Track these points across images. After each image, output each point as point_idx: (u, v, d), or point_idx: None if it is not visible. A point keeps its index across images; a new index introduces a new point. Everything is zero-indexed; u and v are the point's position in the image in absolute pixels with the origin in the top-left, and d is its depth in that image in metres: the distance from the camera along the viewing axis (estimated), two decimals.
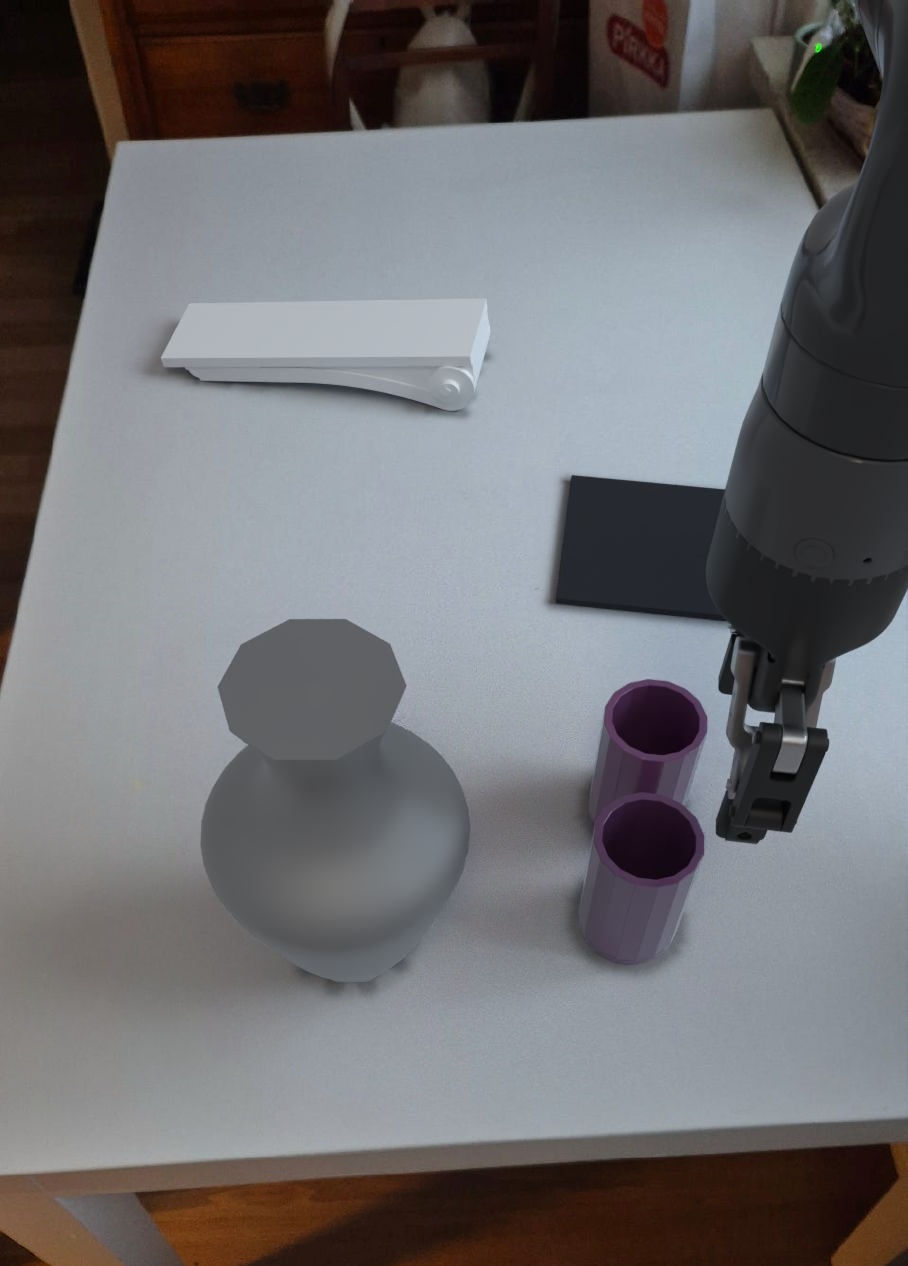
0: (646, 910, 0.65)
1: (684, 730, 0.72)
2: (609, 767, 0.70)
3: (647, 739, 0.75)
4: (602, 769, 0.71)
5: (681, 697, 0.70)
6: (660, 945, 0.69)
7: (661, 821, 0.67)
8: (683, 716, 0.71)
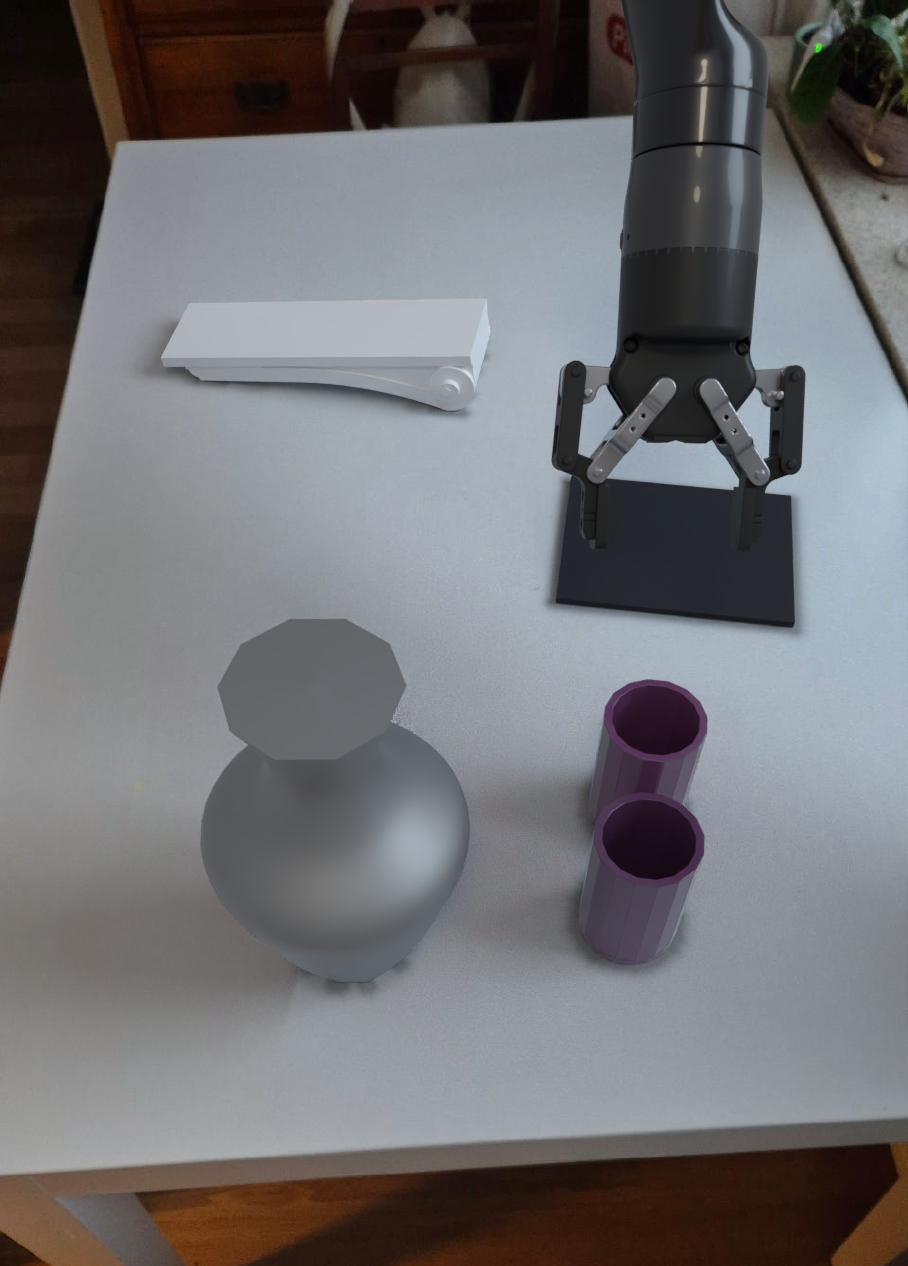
0: (646, 910, 0.65)
1: (684, 730, 0.72)
2: (609, 767, 0.70)
3: (647, 739, 0.75)
4: (602, 769, 0.71)
5: (681, 697, 0.70)
6: (660, 945, 0.69)
7: (661, 821, 0.67)
8: (683, 716, 0.71)
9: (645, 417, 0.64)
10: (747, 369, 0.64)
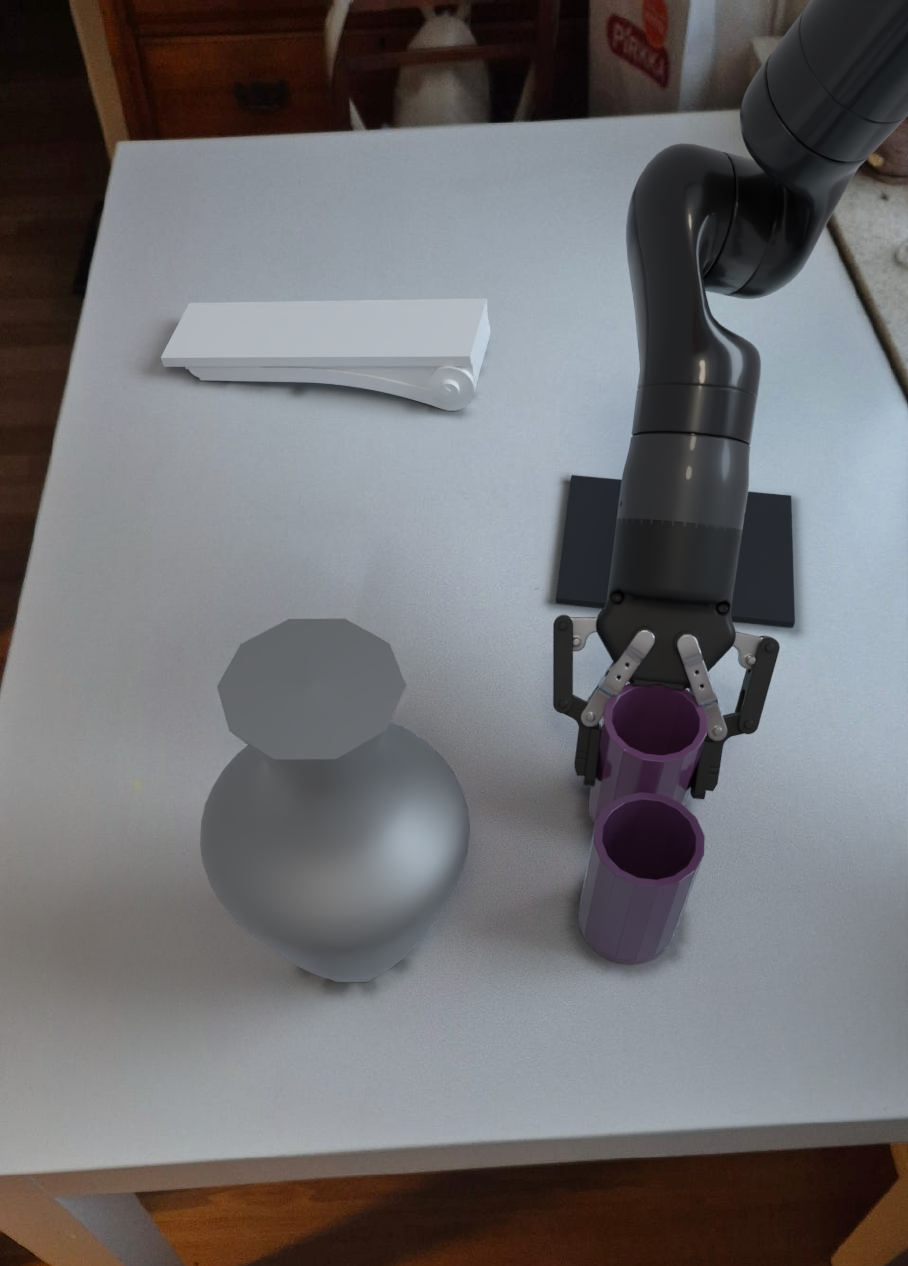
0: (646, 910, 0.65)
1: (684, 730, 0.72)
2: (609, 767, 0.70)
3: (647, 739, 0.75)
4: (602, 769, 0.71)
5: (681, 697, 0.70)
6: (660, 945, 0.69)
7: (661, 821, 0.67)
8: (683, 716, 0.71)
9: (629, 666, 0.69)
10: (727, 629, 0.68)
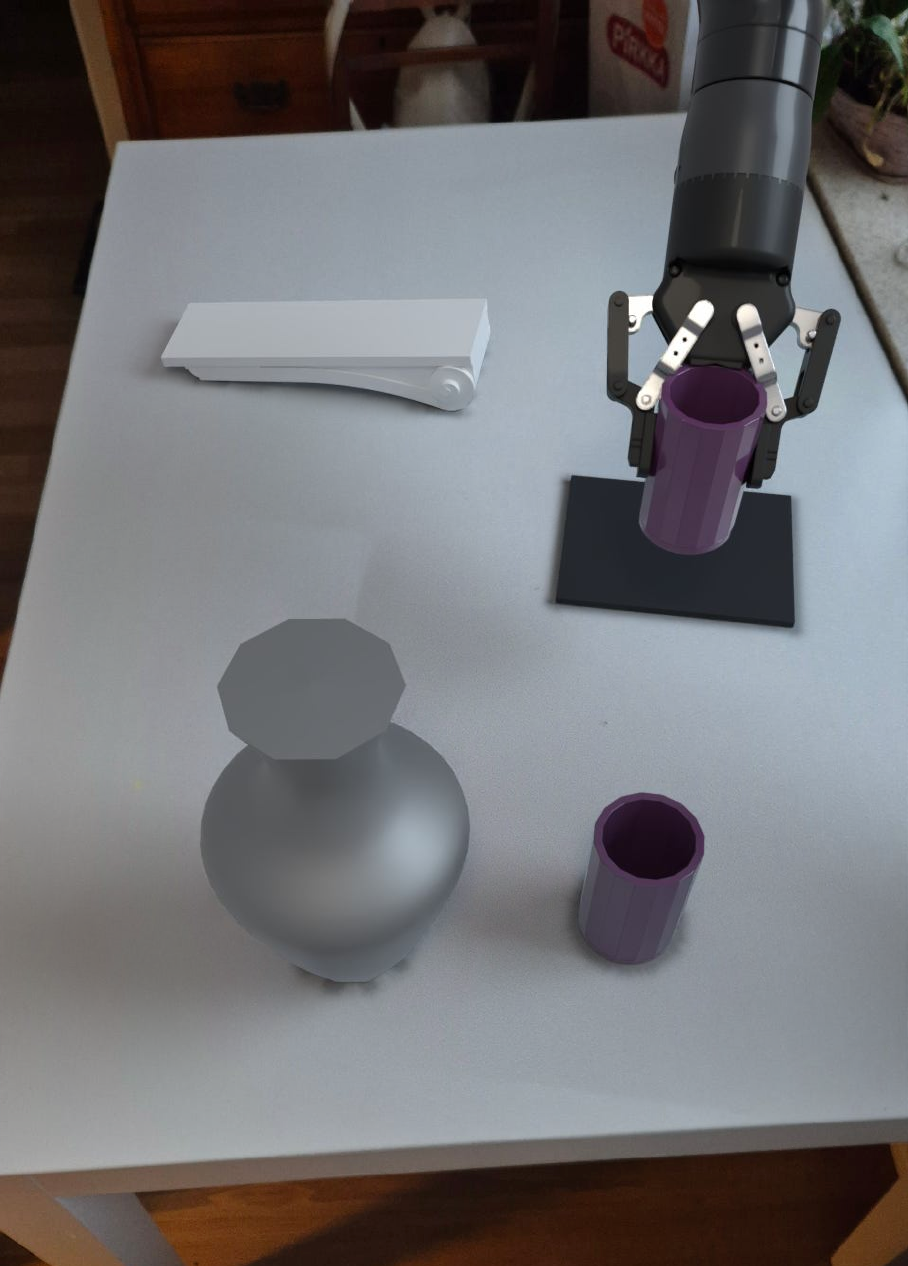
0: (646, 910, 0.65)
1: (740, 419, 0.70)
2: (665, 449, 0.68)
3: None
4: (657, 456, 0.70)
5: (739, 378, 0.68)
6: (660, 945, 0.69)
7: (661, 821, 0.67)
8: (740, 401, 0.69)
9: (687, 341, 0.67)
10: (787, 301, 0.67)
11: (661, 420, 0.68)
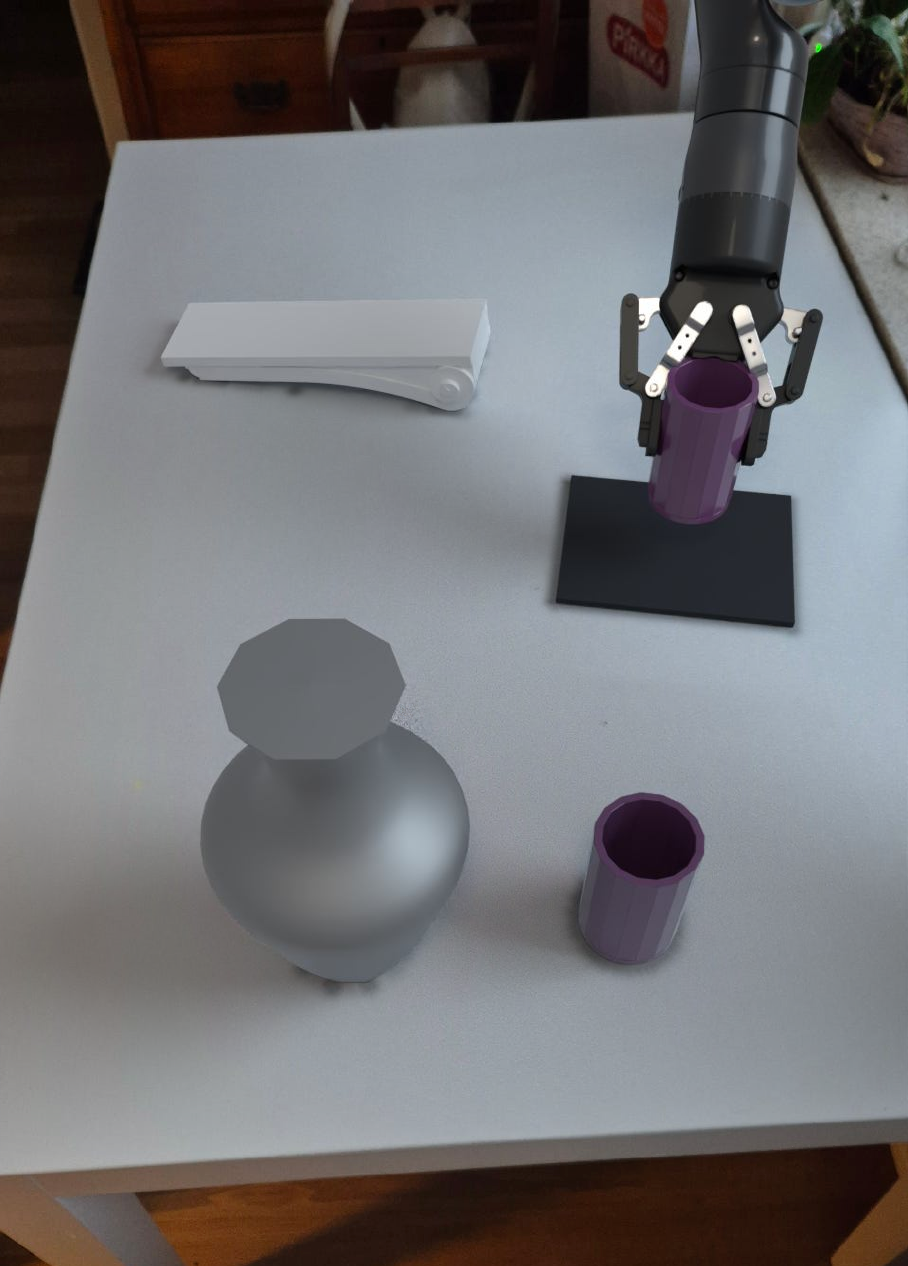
0: (646, 910, 0.65)
1: (736, 404, 0.80)
2: (670, 431, 0.79)
3: None
4: (663, 437, 0.80)
5: (735, 368, 0.79)
6: (660, 945, 0.69)
7: (661, 821, 0.67)
8: (736, 389, 0.80)
9: (689, 336, 0.78)
10: (776, 302, 0.77)
11: (667, 405, 0.78)
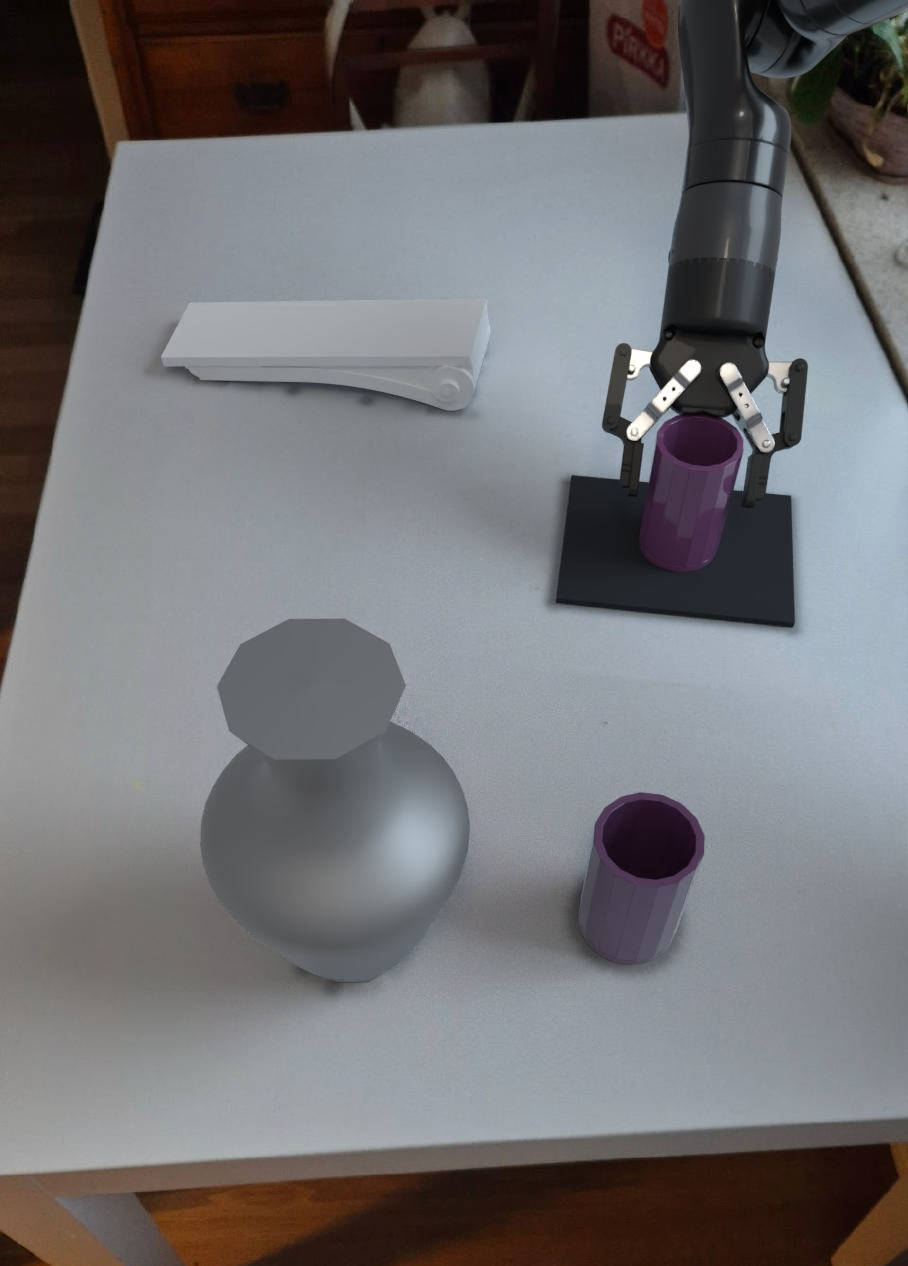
0: (646, 910, 0.65)
1: (722, 460, 0.84)
2: (660, 486, 0.83)
3: None
4: (653, 491, 0.84)
5: (721, 426, 0.83)
6: (660, 945, 0.69)
7: (661, 821, 0.67)
8: (722, 445, 0.84)
9: (675, 390, 0.81)
10: (761, 359, 0.81)
11: (656, 462, 0.82)
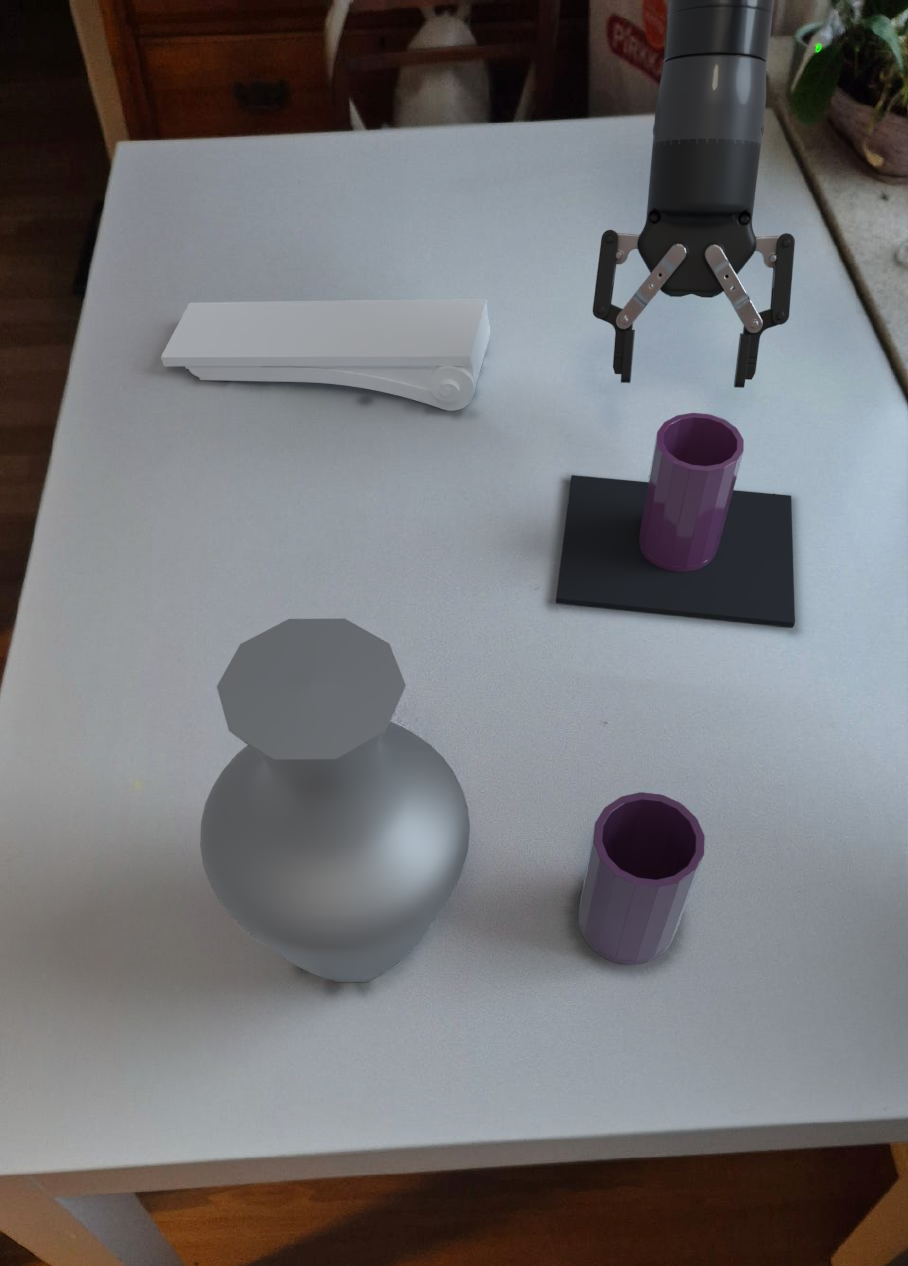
0: (646, 910, 0.65)
1: (722, 460, 0.84)
2: (660, 486, 0.83)
3: None
4: (653, 491, 0.84)
5: (721, 426, 0.83)
6: (660, 945, 0.69)
7: (661, 821, 0.67)
8: (722, 445, 0.84)
9: (662, 276, 0.83)
10: (747, 236, 0.81)
11: (656, 462, 0.82)
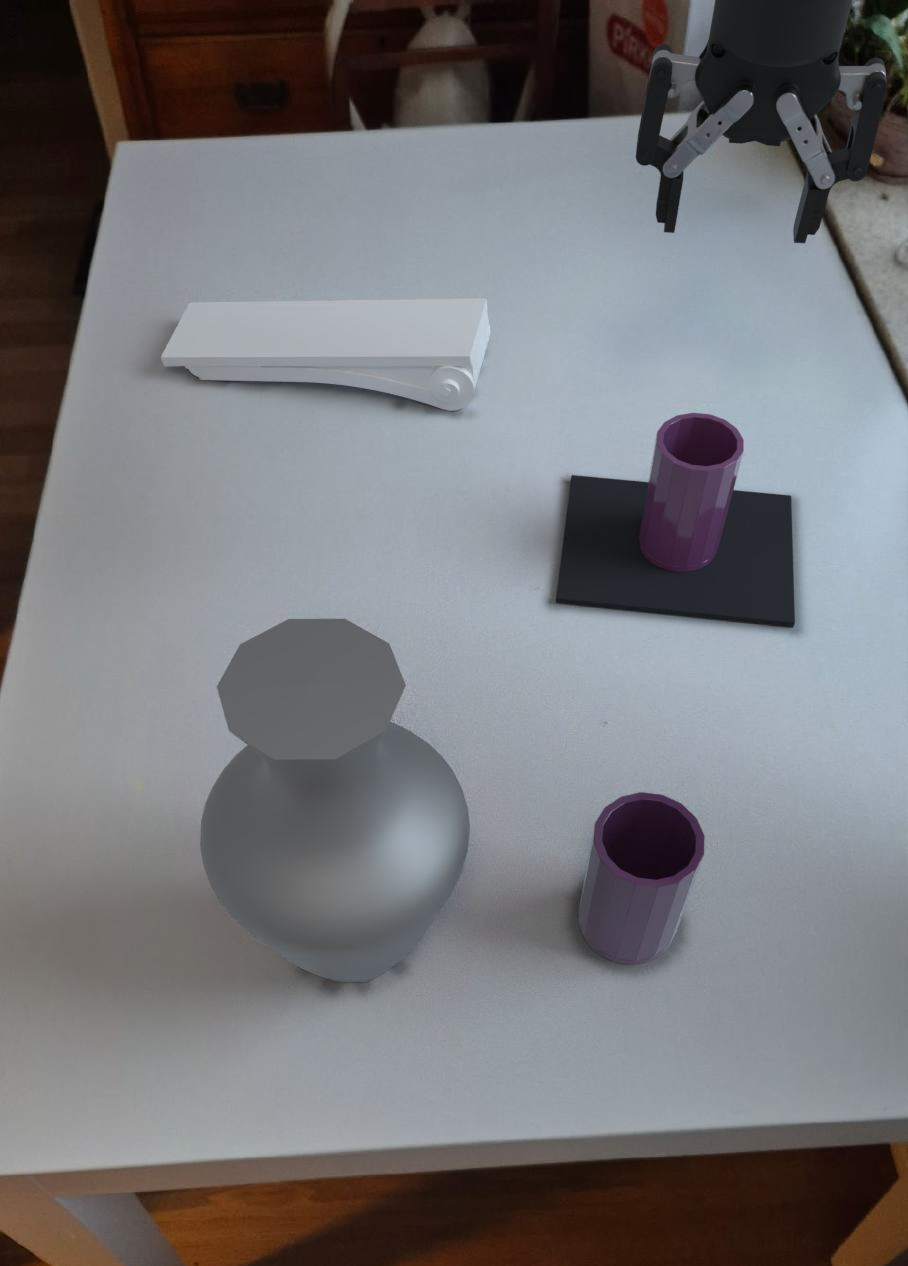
0: (646, 910, 0.65)
1: (722, 460, 0.84)
2: (660, 486, 0.83)
3: None
4: (653, 491, 0.84)
5: (721, 426, 0.83)
6: (660, 945, 0.69)
7: (661, 821, 0.67)
8: (722, 445, 0.84)
9: (721, 124, 0.69)
10: (830, 78, 0.66)
11: (656, 462, 0.82)
